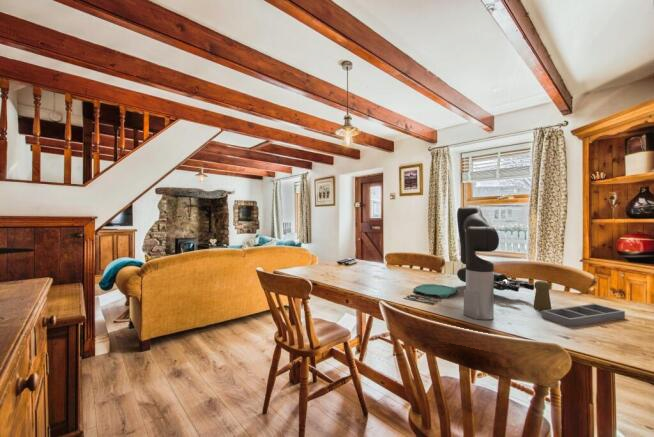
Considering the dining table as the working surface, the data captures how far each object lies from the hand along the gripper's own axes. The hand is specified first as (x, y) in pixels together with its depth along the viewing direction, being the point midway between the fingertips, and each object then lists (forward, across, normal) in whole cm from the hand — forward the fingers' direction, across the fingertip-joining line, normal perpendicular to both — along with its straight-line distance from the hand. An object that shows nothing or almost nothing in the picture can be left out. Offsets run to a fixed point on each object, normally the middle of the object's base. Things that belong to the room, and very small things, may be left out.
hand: (525, 288), depth 124 cm
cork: (+7, 0, +7) cm, 10 cm away
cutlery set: (-24, -29, +7) cm, 39 cm away
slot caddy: (+19, +4, +6) cm, 20 cm away
